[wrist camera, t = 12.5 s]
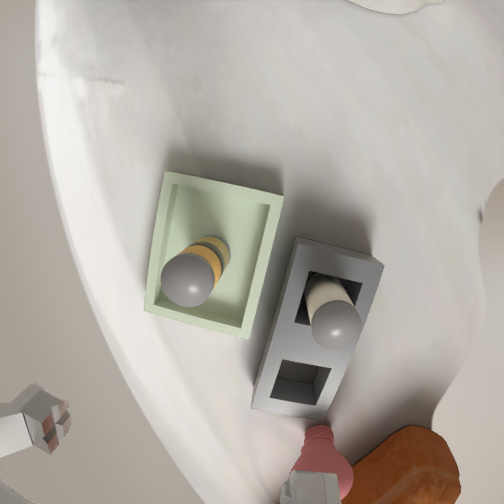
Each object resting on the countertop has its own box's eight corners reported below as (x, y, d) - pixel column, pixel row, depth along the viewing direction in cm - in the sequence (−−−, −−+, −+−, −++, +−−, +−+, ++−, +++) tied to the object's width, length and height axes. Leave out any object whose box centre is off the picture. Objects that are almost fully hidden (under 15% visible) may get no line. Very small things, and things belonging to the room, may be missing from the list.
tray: (173, 171, 30) (164, 171, 27) (283, 195, 29) (284, 196, 27) (152, 302, 33) (143, 310, 30) (250, 328, 33) (248, 339, 30)
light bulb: (276, 434, 36) (274, 507, 24) (315, 403, 34) (324, 478, 22) (316, 454, 36) (322, 522, 24) (353, 425, 35) (371, 495, 23)
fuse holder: (295, 236, 30) (298, 243, 26) (371, 255, 30) (384, 265, 26) (253, 386, 34) (250, 408, 30) (319, 399, 34) (322, 420, 30)
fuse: (309, 266, 31) (321, 299, 22) (345, 275, 31) (369, 311, 22) (299, 301, 32) (305, 345, 23) (334, 309, 31) (351, 354, 23)
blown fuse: (196, 230, 30) (164, 249, 21) (234, 239, 30) (217, 262, 21) (189, 268, 31) (157, 299, 22) (226, 277, 31) (207, 313, 22)
